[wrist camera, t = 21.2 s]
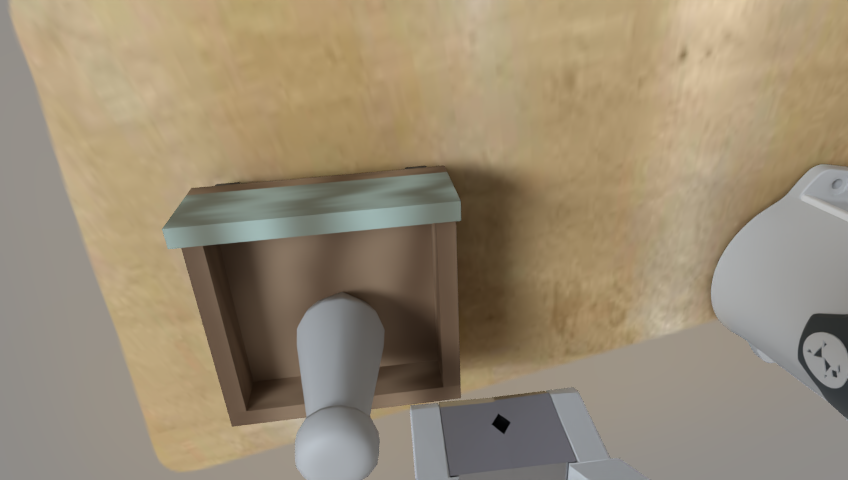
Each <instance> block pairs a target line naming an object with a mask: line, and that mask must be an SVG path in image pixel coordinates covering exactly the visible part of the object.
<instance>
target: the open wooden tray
mask: <svg viewBox="0 0 848 480" xmlns="http://www.w3.org/2000/svg"><path fill="white" fill-rule="evenodd" d="M456 221H461V201H460V199H459V196H458V194H457V192H456V190H455V188H454V186H453V184H452V181H451V179H450V177H449V175H448V173H447V171H446V169H445V166H437V167H426V166H418V167H407V168H405V169H403V170H392V171H381V172H369V173H358V174H347V175H335V176H324V177H313V178H301V179H290V180H279V181H267V182H256V183H245V184H240V183H239V182H237V183H226V184H216V185H215V186H211V187H200V188H191V190H190V191H189V192H188V194H187V195H186V197H185V198H184V199H183V201H182V202H181V204H180V205H179V206H178V208H177V209H176V211H175V212H174V213H173V215H172V216H171V217H170V219H169V220H168V222H167V223H166V224H165V226H164V227H163V229H162V230H163V234H164V237H165V240H166V244H167V247H168V249H175V248H181V249H182V252H183V256H184V259H185V263H186V266H187V270H188V273H189V277H190V280H191V284H192V287H193V291H194V294H195V298H196V301H197V305H198V308H199V312H200V315H201V319H202V322H203V326H204V329H205V333H206V336H207V340H208V344H209V347H210V351H211V354H212V358H213V361H214V365H215V368H216V372H217V375H218V379H219V382H220V386H221V389H222V393H223V396H224V400H225V403H226V407H227V410H228V414H229V417H230V421H231V424H232V426H240V425H249V424H257V423H265V422H273V421H281V420H289V419H297V418H305V417H306V410H305V403H304V395H303V388H302V380H301V373H300V366H299V358H298V351H297V328H298V325H299V324H300V322H301V320H302V318H303V317H304V315H305V313H306V311H307V310H308V309H309V308H310V307H311V306H313V305H314V304H315V303H316V302H317V301H319V300H322V299H324V298H327V297H329V296H332V295H335V294H337V293H340V292H344V293H347V294H349V295H351V296H354V297H356V298H358V299H360V300H363V301H365V302H367V303H368V304H369V305H370V306H371V307H372V308H373V309H374V310H375V311H376V312H377V314H378V316H379V319H380V321H381V323H382V325H383V327H384V330H385V333H384V347H383V352H382V357H381V362H380V367H379V372H378V377H377V382H376V387H375V392H374V397H373V402H372V407H371V409H377V408H385V407H393V406H401V405H409V404H417V403H426V402H434V401H442V400H450V399H458V398H461V388H460V351H459V314H458V276H457V239H456Z"/></svg>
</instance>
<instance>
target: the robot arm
mask: <svg viewBox="0 0 848 480" xmlns="http://www.w3.org/2000/svg"><path fill="white" fill-rule="evenodd" d="M833 182H834V183H833ZM832 183H833V184H832ZM711 301H712V306H713V309H714V312H715V314H716V316H717V318H718V319H719V321H720V322H721V323H722V324H723V325H724V326H725V327H726V328H727V329H729V330H730V331H732V332H733V333H735V334H737V335H739V336H740V337H742V338H744V339H745V340H747V341H748V343H749V345H750V347H751V348H752V350H753V352H754V353H755V354H756V355H757V356H758V357H760V358H761V359H762V360H764V361H765V362H767V363H774V362H775V363H777V364H778V365H779V366H781V367H782V368H783V369H785V370H786V371H787V372H789V373H790V374H791V375H793V376H794V377H795V378H796V379H798V380H799V381H801V382H802V383H803V384H805V385H806V386H807V387H808V388H810V389H811V390H813V391H814V392H815V393H817V394H818V395H819V396H821V397H822V398H823V399H825V400H827V401H828V402H829V403H830V404H831V405H832V406H833V407H834V408H836V409H837V410H838V411H839V412H840V413H841V414H842V415H843V416H844V417H845V419H846V420H847V421H848V167H845V166H837V165H828V164H821V165H817V166H815V167H813V168H811V169H810V170H809V171H808V172H807V173H806V174H804V175H803V177H802V178H801V179H800V180H799V181H798V182H797V183H796V184H795V185H794V187H793V188H792V189H791V190H790V191H789V193H788V194H787V195H786V196H784V197H783V198H782V199H780V200H779V201H778V202H776V203H775V204H773V205H772V206H770V207H768V208H767V209H765V210H764V211H762V212H761V213H760V214H758V215H757V216H756V217H754V218H753V219H752V220H751V221H750V222H748V223H747V224H746V225H745V226H744V227H743V228H742V229H741V230H740V231H739V232H738V233H737V235H736V236H735V237H734V238H733V239H732V241H731V242H730V243H729V245H728V246H727V248H726V249H725V251H724V252H723V254H722V256H721V258H720V260H719V262H718V264H717V267H716V269H715V272H714V276H713V280H712V286H711ZM410 417H411V430H412V443H413V454H414V467H415V480H650V479H649V478H648V477H646V476H645V475H643V474H642V473H640V472H639V471H637V470H636V469H635V468H633V467H632V466H630V465H629V464H627V463H626V462H624V461H623V460H622V459H620V458H614V459H613V458H612V459H611V458H610V456H609V454H608V452H607V450H606V448H605V446H604V444H603V442H602V439H601V437H600V436H599V433H598V431H597V429H596V427H595V425H594V423H593V421H592V419H591V417H590V415H589V413H588V411H587V409H586V407H585V404H584V402H583V400H582V398H581V396H580V394H579V392H578V390H576V389H575V388H574V387H571V388H564V389H555V390H548V391H546V392H545V391H540V392H532V393H524V394H516V395H507V396H499V397H492V398H483V399H471V400H459V401H448V402H439V405H438V403H433V404H420V405H411V407H410Z"/></svg>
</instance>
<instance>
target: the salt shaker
mask: <svg viewBox="0 0 848 480" xmlns="http://www.w3.org/2000/svg"><path fill="white" fill-rule="evenodd" d="M384 333H385V330H384V327H383V325H382V323H381V321H380V319H379V316H378V314H377V312H376V311H375V310H374V309H373V308H372V307H371V306H370V305H369V304H368V303H367V302H365V301H363V300H360V299H358V298H356V297H354V296H351V295H349V294H347V293H344V292H340V293H337V294H335V295H332V296H329V297H327V298H324V299H322V300H319V301H317V302H316V303H315V304H314V305H313V306H311V307H310V308H309V309H308V310H307V311H306V313H305V315H304V317H303V318H302V320H301V322H300V324H299V325H298V328H297V351H298V358H299V366H300V373H301V380H302V388H303V395H304V403H305V410H306V417H307V418H306V419H305V421H304V422H303V424H302V425H301V427H300V429H299V430H298V432H297V435H296V440H295V461H296V467H297V469H298V470H299V471H300V472H301V474H302V475H303V477H304V478H305V479H307V480H363V479H364V478H366V477H368V476H369V474H370V473H371V472H372V470H373V469H374V468H375V466H376V465H377V461H378V456H379V443H380V441H379V433H378V430H377V428H376V427H375V425H374V423H373V421H372V419H371V418H370V412H371V407H372V402H373V397H374V392H375V387H376V382H377V377H378V372H379V367H380V362H381V357H382V352H383V347H384Z"/></svg>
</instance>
